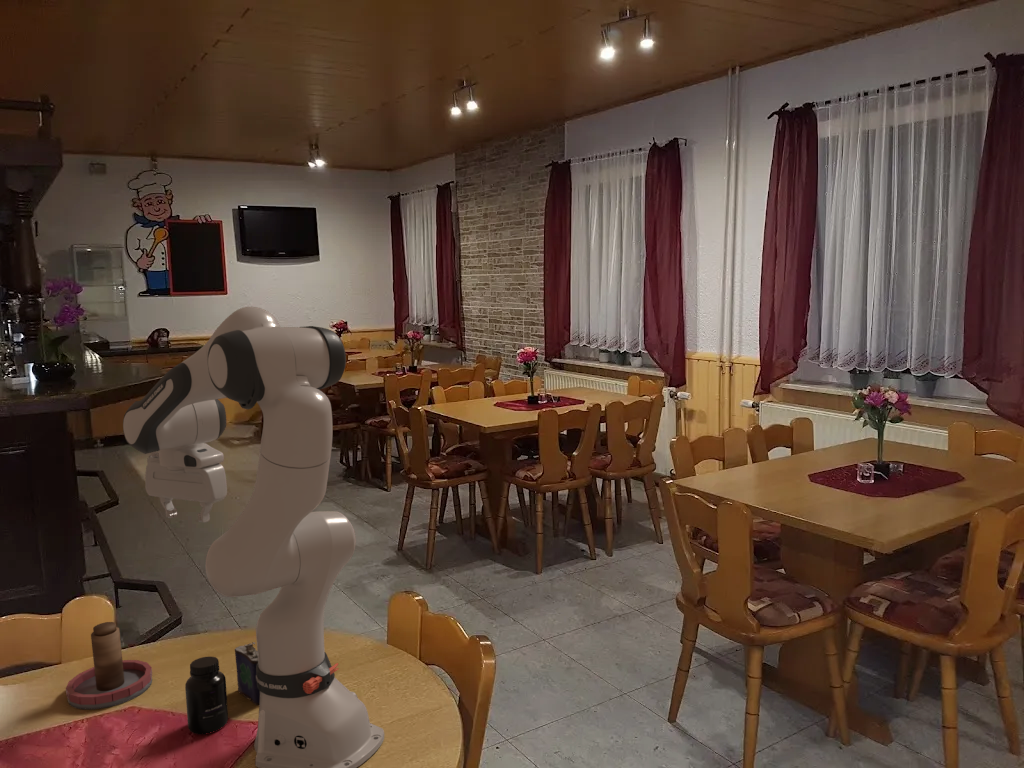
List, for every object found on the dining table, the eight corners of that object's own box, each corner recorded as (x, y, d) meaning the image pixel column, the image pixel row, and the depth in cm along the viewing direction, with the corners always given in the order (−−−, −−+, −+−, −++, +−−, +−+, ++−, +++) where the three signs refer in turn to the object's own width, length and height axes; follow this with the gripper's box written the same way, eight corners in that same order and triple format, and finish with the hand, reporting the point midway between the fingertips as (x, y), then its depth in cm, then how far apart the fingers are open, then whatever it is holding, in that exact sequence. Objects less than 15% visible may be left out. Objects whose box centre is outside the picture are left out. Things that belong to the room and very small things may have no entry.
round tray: (168, 679, 158) (167, 667, 158) (101, 716, 145) (100, 703, 145) (118, 666, 165) (117, 655, 165) (50, 700, 152) (49, 688, 151)
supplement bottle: (215, 737, 137) (209, 672, 135) (180, 734, 138) (174, 670, 137) (236, 716, 143) (231, 654, 142) (203, 713, 145) (197, 652, 143)
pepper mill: (130, 681, 156) (124, 623, 155) (107, 693, 152) (101, 633, 150) (113, 676, 158) (107, 619, 157) (90, 688, 154) (84, 629, 152)
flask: (235, 691, 153) (231, 639, 151) (249, 685, 155) (245, 634, 154) (257, 707, 146) (253, 653, 145) (272, 701, 148) (268, 648, 147)
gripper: (134, 454, 163) (140, 518, 164) (205, 460, 154) (211, 528, 155) (159, 448, 168) (165, 511, 170) (229, 454, 160) (234, 519, 161)
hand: (187, 519), depth 163 cm, fingers open, 8 cm apart
